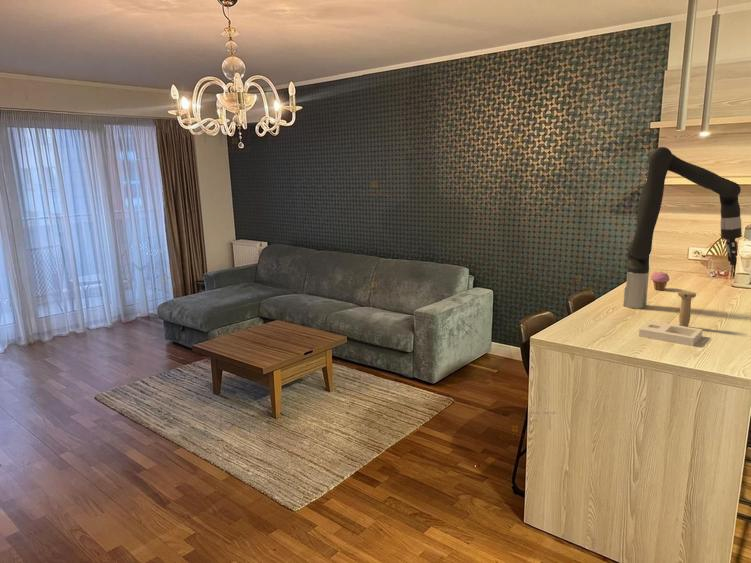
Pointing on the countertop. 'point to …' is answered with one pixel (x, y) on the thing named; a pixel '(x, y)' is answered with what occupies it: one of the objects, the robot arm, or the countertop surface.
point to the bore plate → (671, 333)
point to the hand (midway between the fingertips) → (732, 262)
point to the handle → (685, 307)
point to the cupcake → (660, 280)
